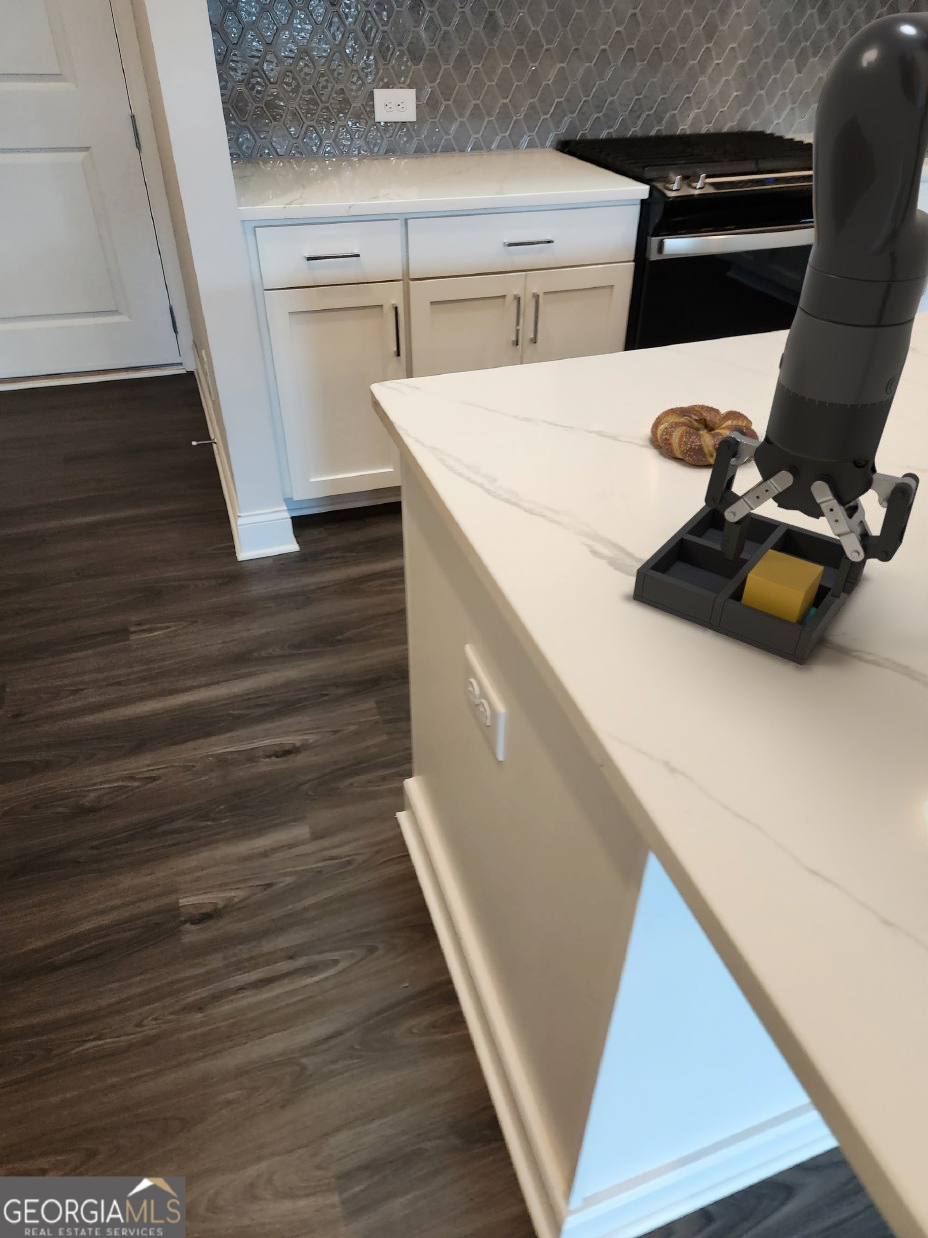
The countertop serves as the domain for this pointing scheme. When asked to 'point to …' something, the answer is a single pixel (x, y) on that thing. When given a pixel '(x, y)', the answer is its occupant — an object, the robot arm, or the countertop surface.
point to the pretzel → (697, 431)
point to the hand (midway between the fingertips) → (784, 574)
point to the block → (783, 586)
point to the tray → (739, 581)
